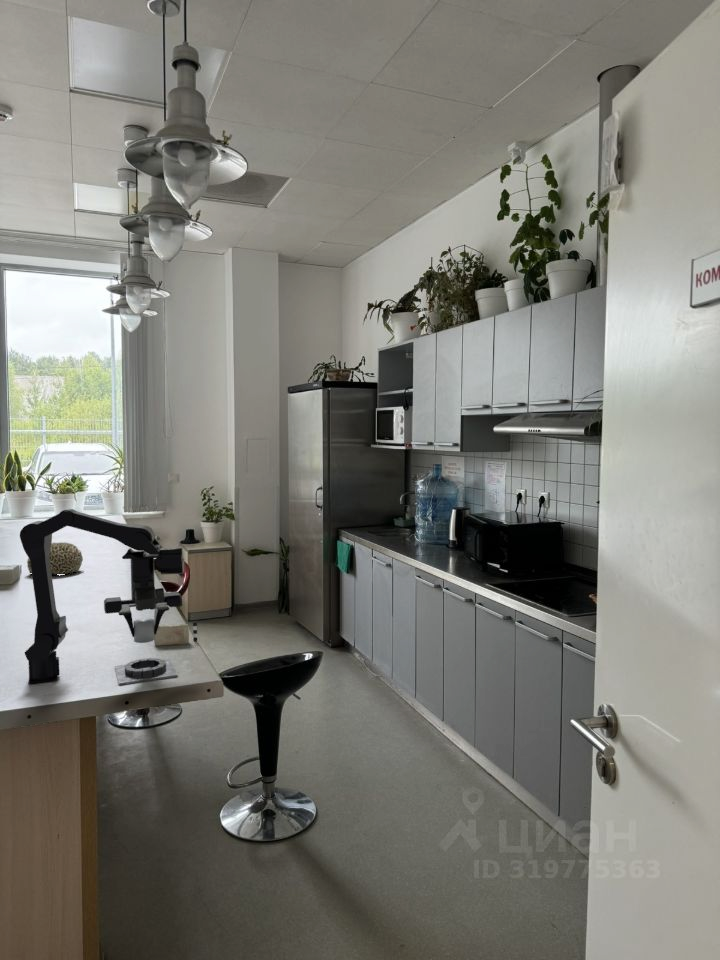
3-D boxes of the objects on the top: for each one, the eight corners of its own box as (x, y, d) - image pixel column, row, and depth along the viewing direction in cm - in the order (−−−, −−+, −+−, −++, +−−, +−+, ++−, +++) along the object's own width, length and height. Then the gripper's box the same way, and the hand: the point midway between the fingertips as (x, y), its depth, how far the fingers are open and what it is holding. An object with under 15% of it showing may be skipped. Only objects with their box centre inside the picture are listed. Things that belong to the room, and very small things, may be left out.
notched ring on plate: (118, 685, 163) (118, 677, 163) (114, 667, 176) (114, 660, 175) (177, 676, 168) (177, 669, 168) (169, 660, 181) (169, 653, 181)
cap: (135, 643, 168) (134, 623, 168) (133, 638, 173) (132, 618, 172) (155, 641, 170) (155, 621, 170) (153, 636, 175) (152, 616, 174)
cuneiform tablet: (196, 621, 199) (155, 624, 197) (195, 624, 195) (153, 627, 193) (197, 641, 199) (155, 643, 197) (196, 644, 195) (153, 646, 194)
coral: (31, 583, 290) (28, 550, 288) (26, 573, 305) (24, 542, 303) (87, 575, 302) (84, 542, 300) (80, 566, 317) (78, 535, 315)
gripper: (105, 584, 159) (107, 648, 160) (185, 577, 167) (186, 639, 168) (103, 576, 170) (104, 636, 170) (178, 570, 177) (179, 628, 178)
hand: (144, 635), depth 171 cm, fingers closed on cap, 5 cm apart
